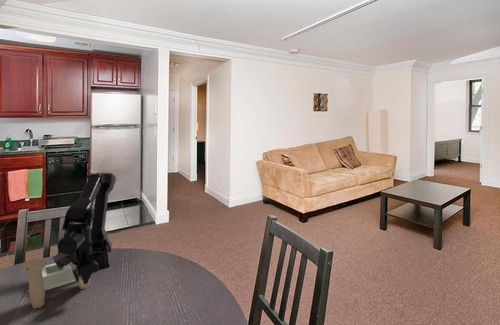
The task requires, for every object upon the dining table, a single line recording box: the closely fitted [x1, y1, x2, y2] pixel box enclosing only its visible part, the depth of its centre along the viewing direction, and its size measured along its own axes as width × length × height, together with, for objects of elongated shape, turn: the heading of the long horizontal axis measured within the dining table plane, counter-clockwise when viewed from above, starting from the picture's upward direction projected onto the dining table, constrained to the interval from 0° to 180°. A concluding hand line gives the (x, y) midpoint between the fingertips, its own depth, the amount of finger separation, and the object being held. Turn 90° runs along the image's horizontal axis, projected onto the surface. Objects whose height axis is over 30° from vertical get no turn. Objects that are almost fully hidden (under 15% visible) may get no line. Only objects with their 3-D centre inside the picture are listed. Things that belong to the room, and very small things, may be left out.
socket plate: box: [42, 262, 77, 291], centre depth 106 cm, size 11×11×4 cm
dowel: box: [78, 276, 91, 290], centre depth 103 cm, size 3×3×8 cm
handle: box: [22, 258, 47, 309], centre depth 91 cm, size 5×6×15 cm
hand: (84, 281), depth 103 cm, fingers closed on dowel, 3 cm apart
